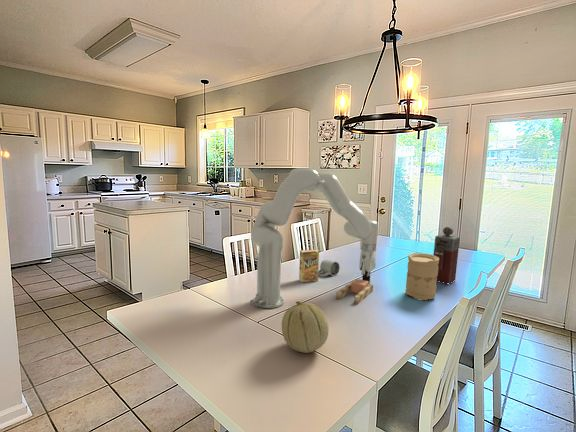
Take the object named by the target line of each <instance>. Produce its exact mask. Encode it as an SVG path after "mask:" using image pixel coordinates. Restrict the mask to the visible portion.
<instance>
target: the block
mask: <svg viewBox="0 0 576 432" xmlns="http://www.w3.org/2000/svg"><path fill="white" fill-rule="evenodd" d="M350 282H351V291H350V293H354V294H358V293H360V292H361V291H362V290H363V289H364V288H366V287H367V286H368V285H369V281H365V280H362V279H360V278H355V279H354V281H353V280H352V281H350Z"/></svg>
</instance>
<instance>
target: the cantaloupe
mask: <svg viewBox="0 0 576 432" xmlns="http://www.w3.org/2000/svg"><path fill="white" fill-rule="evenodd" d="M281 319H282V320H281V332H282V333H281V334H282V337H283V339H284V342H285V343H286V345H288V346H289V347H290V348H291V349H292V350H294V351H296V352H298V353H299V352H300V353H302V354H303V353H305V354H308V353H312V352H315V351H317V350H319V349H320V348H322V347H323V345H324V344H325V343H326V341H327V339H328V337H329V331H330V329H329V322H328V318H327V317H326V314H325V312H324V311H323V310H322V309H321V307H319V306H318V305H316V304H315V303H314V304H313V303H311V302H301V301H299V300H297V301H296V302H295V304H294V305H292V306H291V307H288V309H287V310H286V311H285V312H284V314H283V316H282V318H281Z"/></svg>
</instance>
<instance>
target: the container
mask: <svg viewBox="0 0 576 432" xmlns="http://www.w3.org/2000/svg"><path fill="white" fill-rule="evenodd" d="M438 264H439V258H438V257H436V256H434V254H431V253H426V252H425V253H424V252H423V253H422V252H413V253H410V254H408V262H407V272H406V282H405V283H406V284H405V295H406V294H407V295H409V297H412V298H414V299H415V300H416V299H421V300H420V301H423V300H425V301H428V299H429V300H433V299H435V297H436V293H437V283H438V282H437V278H436V277H437V276H438ZM407 295H406V296H407Z"/></svg>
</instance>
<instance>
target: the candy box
mask: <svg viewBox="0 0 576 432" xmlns="http://www.w3.org/2000/svg"><path fill="white" fill-rule="evenodd" d="M319 263H320V251H319V250H317V249H304V250H303V249H300V250H299V267H298V268H299V272H298V275H299V276H298V279H299V282H301V283H307V282H319V268H320V265H319Z"/></svg>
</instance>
